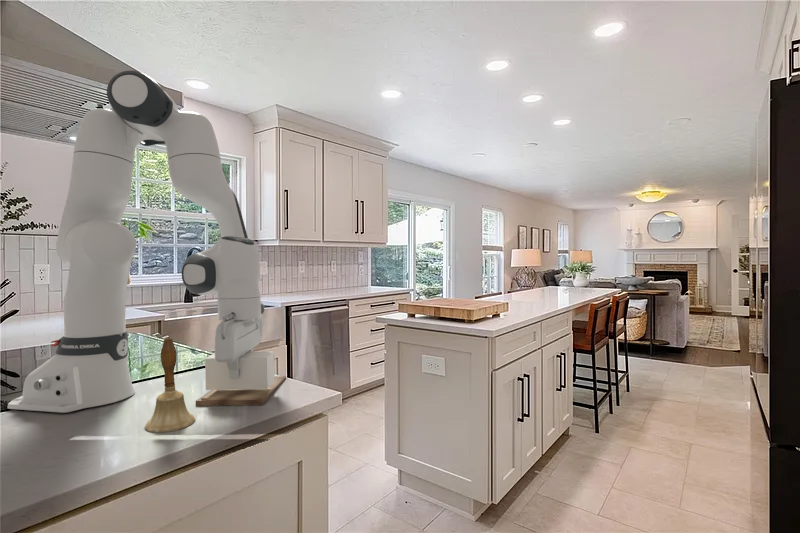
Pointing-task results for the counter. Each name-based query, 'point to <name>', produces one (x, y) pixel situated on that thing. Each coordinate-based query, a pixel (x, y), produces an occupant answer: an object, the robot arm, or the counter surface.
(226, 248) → the robot arm
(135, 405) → the counter surface
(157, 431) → the hand bell
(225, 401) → the board
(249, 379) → the lid
